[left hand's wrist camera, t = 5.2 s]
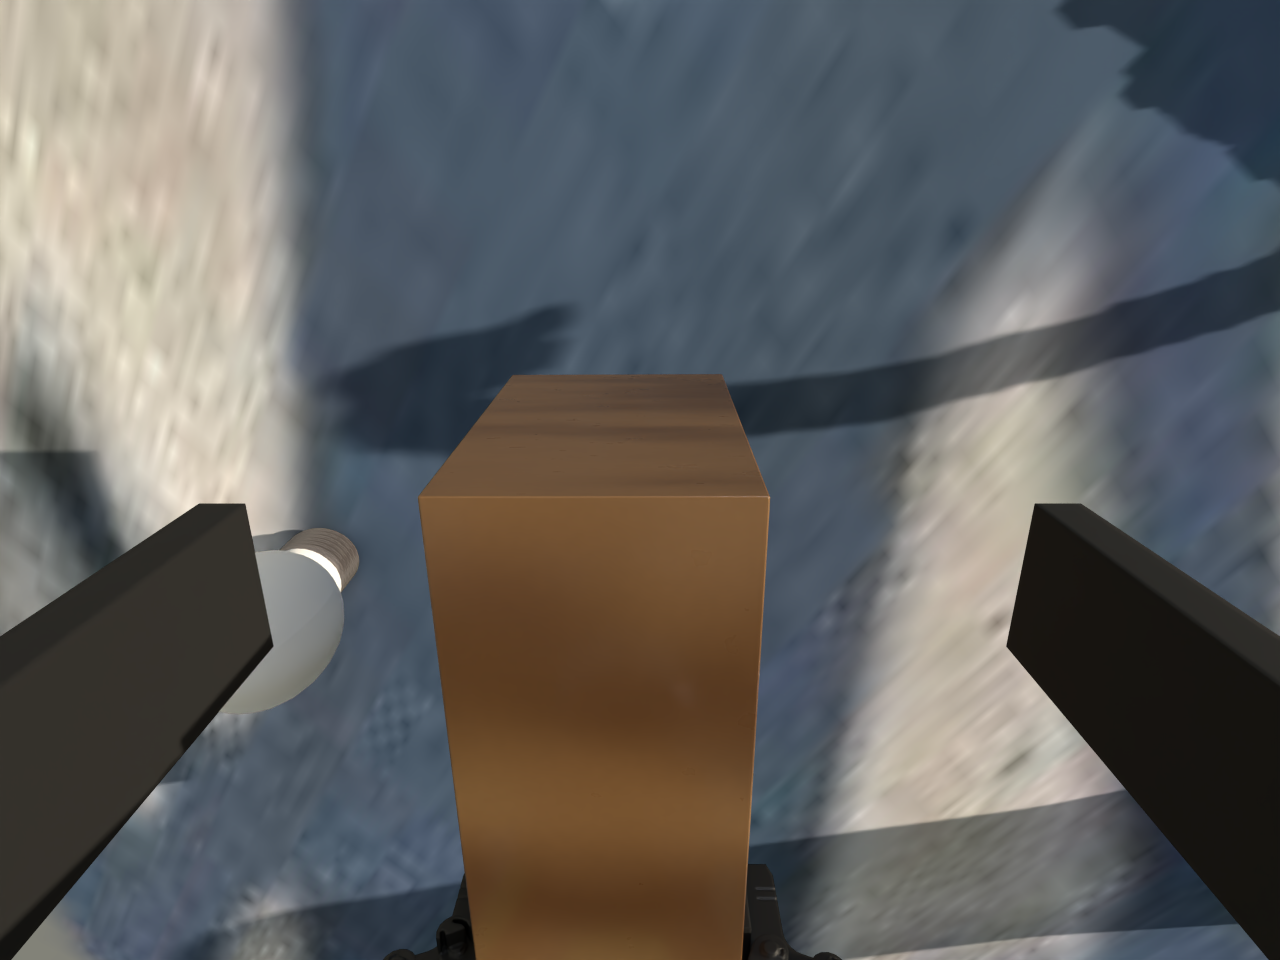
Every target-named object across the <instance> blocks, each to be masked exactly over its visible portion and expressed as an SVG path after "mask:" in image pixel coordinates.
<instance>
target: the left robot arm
mask: <svg viewBox="0 0 1280 960" xmlns="http://www.w3.org/2000/svg"><path fill="white" fill-rule="evenodd" d="M273 647H274V645H273V640H272V635H271V630H270V625H269V620H268V615H267V610H266V605H265V600H264V595H263V590H262V585H261V580H260V575H259V570H258V565H257V560H256V555H255V550H254V545H253V540H252V535H251V530H250V525H249V520H248V515H247V510H246V505H245V504H198V505H196V506H195V507H193V508H192V509H190V510H189V511H187V512H186V513H184V514H183V515H181V516H180V517H178V518H177V519H175V520H174V521H172V522H171V523H169V524H168V525H166V526H165V527H163V528H162V529H160V530H159V531H157V532H156V533H154V534H153V535H151V536H150V537H148V538H147V539H145V540H144V541H142V542H141V543H139V544H138V545H136V546H135V547H133V548H132V549H130V550H129V551H127V552H126V553H124V554H123V555H121V556H120V557H119V558H117V559H116V560H114V561H113V562H111V563H110V564H108V565H107V566H105V567H104V568H102V569H101V570H99V571H98V572H96V573H95V574H93V575H92V576H90V577H89V578H87V579H86V580H84V581H83V582H81V583H80V584H78V585H77V586H75V587H74V588H72V589H71V590H69V591H68V592H66V593H65V594H63V595H62V596H60V597H59V598H57V599H56V600H54V601H53V602H51V603H50V604H48V605H47V606H45V607H44V608H42V609H41V610H39V611H38V612H36V613H35V614H33V615H32V616H30V617H29V618H27V619H26V620H24V621H23V622H21V623H20V624H18V625H17V626H15V627H14V628H12V629H11V630H9V631H8V632H6V633H5V634H3V635H2V636H0V960H11V959H12V958H13V957H14V956H15V955H16V953H17V952H18V951H19V950H20V949H21V947H22V946H23V945H24V944H25V943H26V941H27V940H28V939H29V938H30V937H31V935H32V934H33V933H34V932H35V931H36V929H37V928H38V927H39V926H40V925H41V924H42V922H43V921H44V920H45V919H46V918H47V916H48V915H49V914H50V913H51V912H52V910H53V909H54V908H55V907H56V906H57V904H58V903H59V902H60V901H61V900H62V898H63V897H64V896H65V895H66V894H67V892H68V891H69V890H70V889H71V888H72V887H73V885H74V884H75V883H76V882H77V881H78V879H79V878H80V877H81V876H82V875H83V873H84V872H85V871H86V870H87V869H88V867H89V866H90V865H91V864H92V863H93V861H94V860H95V859H96V858H97V857H98V855H99V854H100V853H101V852H102V851H103V850H104V848H105V847H106V846H107V845H108V844H109V842H110V841H111V840H112V839H113V838H114V836H115V835H116V834H117V833H118V832H119V830H120V829H121V828H122V827H123V826H124V824H125V823H126V822H127V821H128V820H129V818H130V817H131V816H132V815H133V814H134V813H135V811H136V810H137V809H138V808H139V807H140V805H141V804H142V803H143V802H144V801H145V799H146V798H147V797H148V796H149V795H150V793H151V792H152V791H153V790H154V789H155V787H156V786H157V785H158V784H159V783H160V781H161V780H162V779H163V778H164V777H165V776H166V774H167V773H168V772H169V771H170V770H171V768H172V767H173V766H174V765H175V764H176V762H177V761H178V760H179V759H180V758H181V756H182V755H183V754H184V753H185V752H186V750H187V749H188V748H189V747H190V746H191V744H192V743H193V742H194V741H195V740H196V739H197V737H198V736H199V735H200V734H201V733H202V731H203V730H204V729H205V728H206V727H207V725H208V724H209V723H210V722H211V721H212V719H213V718H214V717H215V716H216V715H217V713H218V712H219V711H220V710H221V709H222V707H223V706H224V705H225V704H226V703H227V701H228V700H229V699H230V698H231V697H232V696H233V694H234V693H235V692H236V691H237V690H238V688H239V687H240V686H241V685H242V684H243V682H244V681H245V680H246V679H247V678H248V676H249V675H250V674H251V673H252V672H253V670H254V669H255V668H256V667H257V666H258V664H259V663H260V662H261V661H262V660H263V659H264V657H265V656H266V655H267V654H268V653H269V651H270V650H271V649H272V648H273ZM1006 647H1007V648H1008V649H1009V650H1010V651H1011V653H1012V654H1013V655H1014V656H1015V657H1016V659H1017V660H1018V661H1019V662H1020V663H1021V664H1022V666H1023V667H1024V668H1025V669H1026V670H1027V672H1028V673H1029V674H1030V675H1031V676H1032V678H1033V679H1034V680H1035V681H1036V682H1037V684H1038V685H1039V686H1040V687H1041V688H1042V690H1043V691H1044V692H1045V693H1046V694H1047V696H1048V697H1049V698H1050V699H1051V700H1052V701H1053V703H1054V704H1055V705H1056V706H1057V707H1058V709H1059V710H1060V711H1061V712H1062V713H1063V715H1064V716H1065V717H1066V718H1067V719H1068V721H1069V722H1070V723H1071V724H1072V725H1073V727H1074V728H1075V729H1076V730H1077V731H1078V733H1079V734H1080V735H1081V736H1082V737H1083V739H1084V740H1085V741H1086V742H1087V743H1088V744H1089V746H1090V747H1091V748H1092V749H1093V750H1094V752H1095V753H1096V754H1097V755H1098V756H1099V758H1100V759H1101V760H1102V761H1103V762H1104V764H1105V765H1106V766H1107V767H1108V768H1109V770H1110V771H1111V772H1112V773H1113V774H1114V776H1115V777H1116V778H1117V779H1118V780H1119V781H1120V783H1121V784H1122V785H1123V786H1124V787H1125V789H1126V790H1127V791H1128V792H1129V793H1130V795H1131V796H1132V797H1133V798H1134V799H1135V801H1136V802H1137V803H1138V804H1139V805H1140V807H1141V808H1142V809H1143V810H1144V811H1145V813H1146V814H1147V815H1148V816H1149V817H1150V818H1151V820H1152V821H1153V822H1154V823H1155V824H1156V826H1157V827H1158V828H1159V829H1160V830H1161V832H1162V833H1163V834H1164V835H1165V836H1166V838H1167V839H1168V840H1169V841H1170V842H1171V844H1172V845H1173V846H1174V847H1175V848H1176V850H1177V851H1178V852H1179V853H1180V854H1181V855H1182V857H1183V858H1184V859H1185V860H1186V861H1187V863H1188V864H1189V865H1190V866H1191V867H1192V869H1193V870H1194V871H1195V872H1196V873H1197V875H1198V876H1199V877H1200V878H1201V879H1202V881H1203V882H1204V883H1205V884H1206V885H1207V887H1208V888H1209V889H1210V890H1211V891H1212V892H1213V894H1214V895H1215V896H1216V897H1217V898H1218V900H1219V901H1220V902H1221V903H1222V904H1223V906H1224V907H1225V908H1226V909H1227V910H1228V912H1229V913H1230V914H1231V915H1232V916H1233V918H1234V919H1235V920H1236V921H1237V922H1238V924H1239V925H1240V926H1241V927H1242V928H1243V930H1244V931H1245V932H1246V933H1247V934H1248V935H1249V937H1250V938H1251V939H1252V940H1253V941H1254V943H1255V944H1256V945H1257V946H1258V947H1259V949H1260V950H1261V951H1262V952H1263V953H1264V955H1265V956H1266V957H1267V958H1268V959H1269V960H1280V636H1278V635H1277V634H1275V633H1274V632H1272V631H1271V630H1269V629H1268V628H1266V627H1265V626H1263V625H1262V624H1260V623H1259V622H1257V621H1256V620H1254V619H1253V618H1251V617H1250V616H1248V615H1247V614H1245V613H1244V612H1242V611H1241V610H1239V609H1238V608H1236V607H1235V606H1233V605H1232V604H1230V603H1229V602H1227V601H1226V600H1224V599H1223V598H1221V597H1220V596H1218V595H1217V594H1215V593H1214V592H1212V591H1211V590H1209V589H1208V588H1206V587H1205V586H1203V585H1202V584H1200V583H1199V582H1197V581H1196V580H1194V579H1193V578H1191V577H1190V576H1188V575H1187V574H1185V573H1184V572H1182V571H1181V570H1179V569H1178V568H1176V567H1175V566H1173V565H1172V564H1170V563H1169V562H1167V561H1166V560H1164V559H1163V558H1161V557H1160V556H1159V555H1157V554H1156V553H1154V552H1153V551H1151V550H1150V549H1148V548H1147V547H1145V546H1144V545H1142V544H1141V543H1139V542H1138V541H1136V540H1135V539H1133V538H1132V537H1130V536H1129V535H1127V534H1126V533H1124V532H1123V531H1121V530H1120V529H1118V528H1117V527H1115V526H1114V525H1112V524H1111V523H1109V522H1108V521H1106V520H1105V519H1103V518H1102V517H1100V516H1099V515H1097V514H1096V513H1094V512H1093V511H1091V510H1090V509H1088V508H1087V507H1085V506H1084V505H1082V504H1035V505H1034V510H1033V515H1032V520H1031V525H1030V530H1029V535H1028V540H1027V545H1026V550H1025V555H1024V560H1023V565H1022V570H1021V575H1020V580H1019V585H1018V590H1017V595H1016V600H1015V605H1014V610H1013V615H1012V620H1011V625H1010V630H1009V635H1008V640H1007V645H1006Z"/></svg>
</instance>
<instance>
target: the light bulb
mask: <svg viewBox="0 0 1280 960" xmlns="http://www.w3.org/2000/svg"><path fill="white" fill-rule="evenodd" d="M255 555H256V560H257V565H258V570H259V575H260V580H261V585H262V590H263V595H264V600H265V605H266V610H267V615H268V620H269V625H270V630H271V635H272V640H273V645H274V647H273V648H272V649H271V650H270V651H269V653H268V654H267V655H266V656H265V657H264V659H263V660H262V661H261V662H260V663H259V664H258V666H257V667H256V668H255V669H254V670H253V672H252V673H251V674H250V675H249V676H248V678H247V679H246V680H245V681H244V682H243V684H242V685H241V686H240V687H239V688H238V690H237V691H236V692H235V693H234V694H233V696H232V697H231V698H230V699H229V700H228V701H227V703H226V704H225V705H224V706H223V707H222V709H221V710H220V711H219V712H222V713H228V714H249V713H254V712H259V711H263V710H267V709H271V708H273V707H275V706H277V705H280V704H282V703H284V702H286V701H288V700H290V699H292V698H294V697H295V696H296V695H298V694H299V693H300V692H302V691H303V690H304V689H305V688H307V687H308V686H309V685H310V684H312V683H313V682H314V681H315V680H316V679H317V677H318V676H319V675H320V674H321V673H322V672H323V670H324V669H325V668H326V666H327V665H328V664H329V663H330V661H331V659H332V657H333V655H334V653H335V651H336V649H337V647H338V644H339V642H340V639H341V635H342V631H343V625H344V606H343V599H342V595H341V592H342V590H343V589H344V588H345V587H346V585H347V584H348V583H349V581H350V580H351V579H352V577H353V576H354V575H355V573H356V572H357V569H358V565H359V556H358V552H357V550H356V548H355V546H354V545H353V543H352V542H351V541H350V540H349V539H348V538H347V537H345V536H344V535H342V534H340V533H338V532H336V531H334V530H330V529H325V528H313V529H308V530H305V531H302V532H300V533H298V534H296V535H295V536H294V537H293V538H291V540H289V541H288V542H287V543H286V544H285V545H284V546H283V547H282V548H281V549H280V550H271V551H261V552H255Z"/></svg>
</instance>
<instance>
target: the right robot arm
mask: <svg viewBox="0 0 1280 960" xmlns="http://www.w3.org/2000/svg"><path fill="white" fill-rule="evenodd" d="M436 940H437V947H435V948H434V949H432V950H430V951H427V952H424V953H421V954H418V955H414V954H413V952H411V951H409V950H407V949H399V950H396V951H393V952H391V953H390V954H388V955H387V956H386V957H385V958H384V959H383V960H476V958H475V950H474V942H473V934H472V927H471V919H470V911H469V903H468V895H467V887H466V879H465V873H464V876H463V879H462V883H461V888H460V890H459V894H458V899H457V901H456V905H455V908H454V912H453V916H452V917H450V918H448V919H446V920H445V921H444V922H443V923H442V924H441V925H440V926H439V928H438V930H437V934H436ZM742 960H842V959H840V958H839V957H838V956H836V955H835V954H832V953H829V952H821V953H819V954H817V955H815V956H814V957H813V958H812V957H809V956H806V955H803V954H801V953H798V952H796V951H795V950H794V949H792V948H791V947H790V946H789V945H788V943H787V942H786V940H785V938H784V935H783V931H782V925H781V919H780V914H779V908H778V902H777V897H776V891H775V885H774V880H773V875H772V874H771V872H770V871H769V869H768V867H767V866H766V864H748V867H747V883H746V899H745V916H744V932H743V948H742Z"/></svg>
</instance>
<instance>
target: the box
mask: <svg viewBox="0 0 1280 960" xmlns="http://www.w3.org/2000/svg"><path fill="white" fill-rule="evenodd" d="M418 503H419V511H420V519H421V527H422V535H423V543H424V551H425V559H426V567H427V575H428V583H429V591H430V599H431V607H432V615H433V623H434V631H435V639H436V647H437V655H438V663H439V671H440V679H441V687H442V695H443V703H444V711H445V719H446V727H447V735H448V743H449V751H450V759H451V767H452V775H453V783H454V791H455V799H456V807H457V815H458V823H459V831H460V839H461V847H462V855H463V863H464V871H465V879H466V887H467V895H468V903H469V911H470V919H471V927H472V934H473V942H474V950H475V958H476V960H742V948H743V932H744V916H745V899H746V883H747V867H748V850H749V834H750V818H751V801H752V785H753V769H754V752H755V736H756V720H757V703H758V687H759V671H760V654H761V638H762V622H763V605H764V589H765V573H766V556H767V540H768V524H769V507H770V496H769V493H768V491H767V488H766V486H765V483H764V481H763V478H762V476H761V473H760V470H759V468H758V465H757V463H756V460H755V458H754V455H753V453H752V450H751V447H750V445H749V442H748V440H747V437H746V435H745V432H744V430H743V427H742V424H741V422H740V419H739V417H738V414H737V412H736V409H735V407H734V404H733V401H732V399H731V396H730V394H729V391H728V389H727V386H726V384H725V381H724V378H723V376H722V375H721V374H674V375H512V376H511V378H510V379H509V380H508V382H507V383H506V384H505V385H504V387H503V388H502V389H501V391H500V392H499V393H498V394H497V396H496V397H495V398H494V400H493V401H492V402H491V403H490V405H489V406H488V407H487V409H486V410H485V411H484V412H483V414H482V415H481V416H480V418H479V419H478V420H477V422H476V423H475V424H474V425H473V427H472V428H471V429H470V431H469V432H468V433H467V434H466V436H465V437H464V438H463V440H462V441H461V442H460V443H459V445H458V446H457V447H456V449H455V450H454V451H453V452H452V454H451V455H450V456H449V458H448V459H447V460H446V461H445V463H444V464H443V465H442V467H441V468H440V469H439V470H438V472H437V473H436V474H435V476H434V477H433V478H432V479H431V481H430V482H429V483H428V485H427V486H426V487H425V488H424V490H423V491H422V492H421V494H420V495H419V496H418Z"/></svg>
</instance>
